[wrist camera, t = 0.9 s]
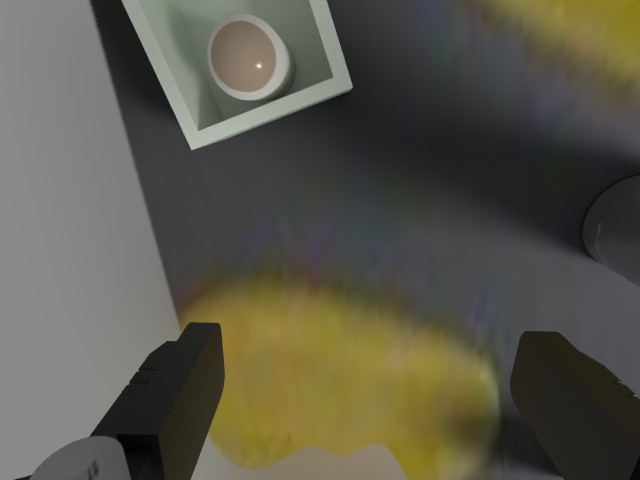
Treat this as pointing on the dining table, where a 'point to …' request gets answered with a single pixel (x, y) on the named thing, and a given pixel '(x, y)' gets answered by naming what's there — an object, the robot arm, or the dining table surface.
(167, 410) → the robot arm
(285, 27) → the crate
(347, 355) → the dining table surface
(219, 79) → the jar
